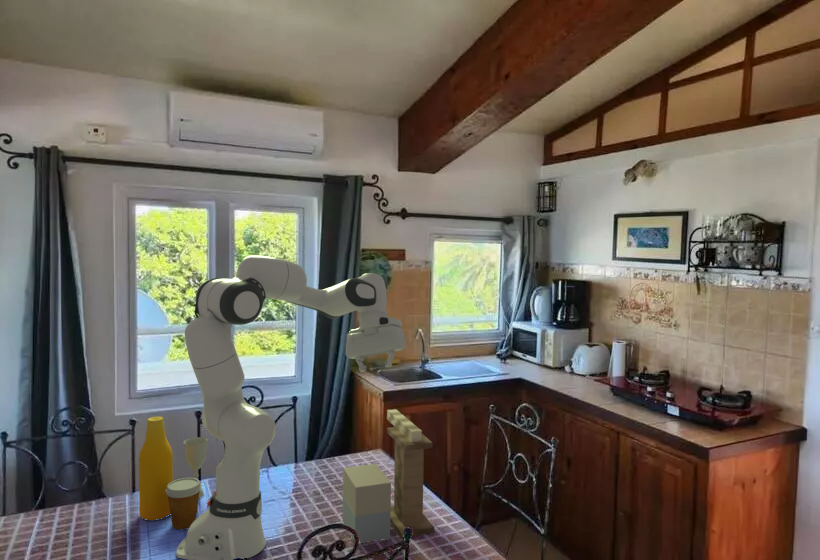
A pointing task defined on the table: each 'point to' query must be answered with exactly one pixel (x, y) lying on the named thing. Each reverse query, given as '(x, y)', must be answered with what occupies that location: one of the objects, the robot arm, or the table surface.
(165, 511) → the beer bottle
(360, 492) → the tower top block
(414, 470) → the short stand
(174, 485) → the disposable coffee cup
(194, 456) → the chalice
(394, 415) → the batten
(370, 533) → the tower base block
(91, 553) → the table surface
